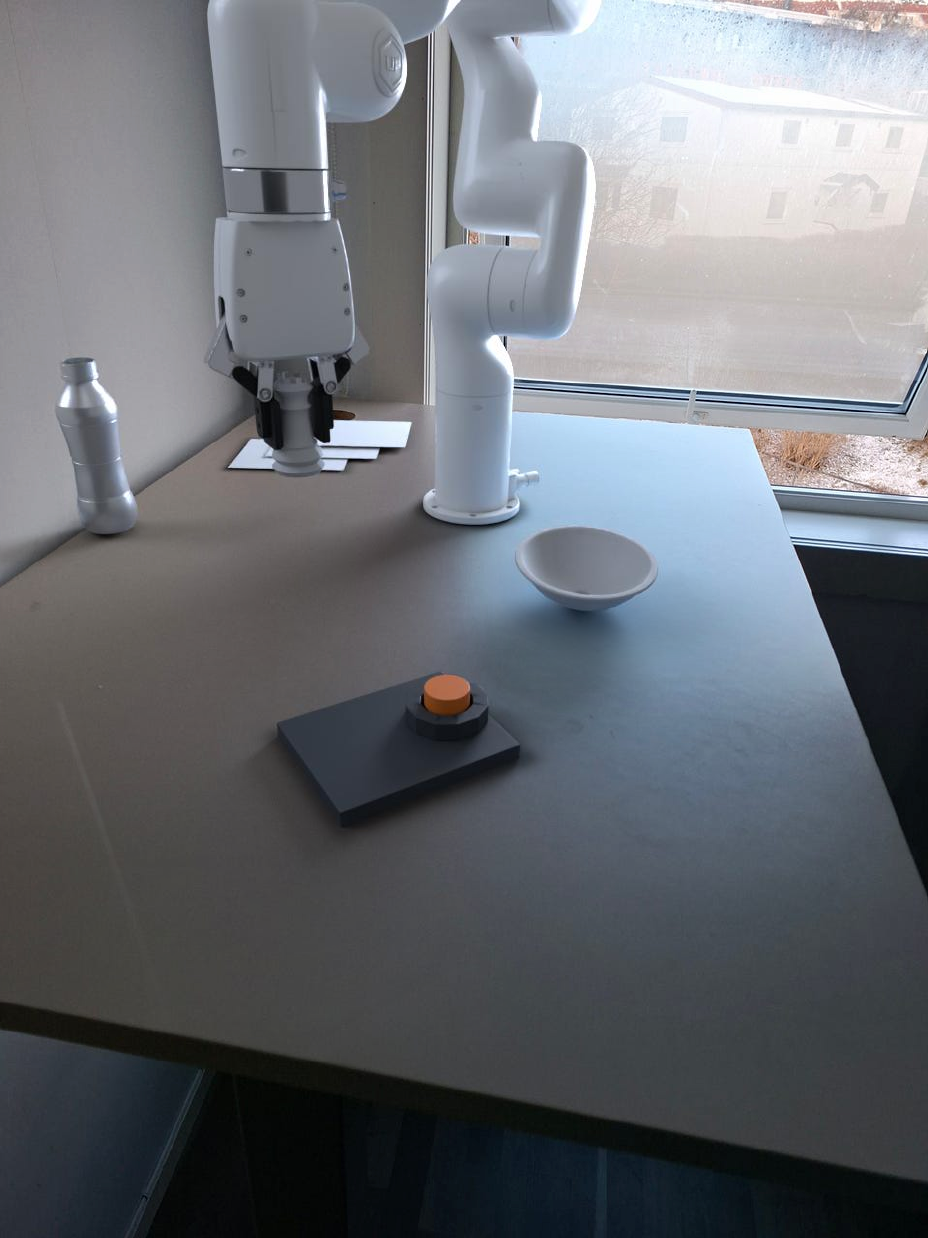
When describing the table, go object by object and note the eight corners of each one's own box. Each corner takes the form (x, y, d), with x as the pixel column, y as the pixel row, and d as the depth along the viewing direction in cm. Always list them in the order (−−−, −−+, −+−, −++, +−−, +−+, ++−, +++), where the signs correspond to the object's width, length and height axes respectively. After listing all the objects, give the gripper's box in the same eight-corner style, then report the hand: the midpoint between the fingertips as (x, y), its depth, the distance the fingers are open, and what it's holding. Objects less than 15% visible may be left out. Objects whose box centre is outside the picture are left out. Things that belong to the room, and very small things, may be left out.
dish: (666, 647, 80) (673, 600, 77) (515, 643, 80) (517, 596, 78) (637, 567, 95) (642, 526, 93) (510, 563, 95) (512, 522, 93)
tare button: (454, 686, 69) (454, 670, 68) (478, 708, 66) (478, 691, 65) (416, 698, 67) (415, 682, 66) (438, 721, 64) (438, 705, 64)
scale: (443, 683, 74) (443, 654, 72) (522, 757, 65) (524, 726, 63) (277, 736, 67) (274, 705, 65) (341, 828, 58) (338, 795, 56)
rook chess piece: (334, 465, 73) (329, 371, 69) (309, 481, 69) (302, 383, 65) (289, 459, 74) (281, 366, 70) (261, 474, 70) (252, 377, 67)
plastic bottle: (122, 543, 98) (88, 369, 88) (70, 537, 99) (30, 365, 90) (151, 522, 104) (121, 356, 94) (101, 517, 105) (67, 352, 95)
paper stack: (400, 471, 121) (400, 467, 121) (228, 467, 121) (227, 463, 121) (411, 425, 142) (411, 421, 141) (263, 422, 142) (263, 418, 141)
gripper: (359, 195, 68) (367, 419, 77) (150, 195, 61) (185, 443, 69) (402, 199, 63) (405, 440, 71) (176, 200, 55) (211, 469, 64)
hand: (296, 439), depth 70 cm, fingers closed on rook chess piece, 3 cm apart
